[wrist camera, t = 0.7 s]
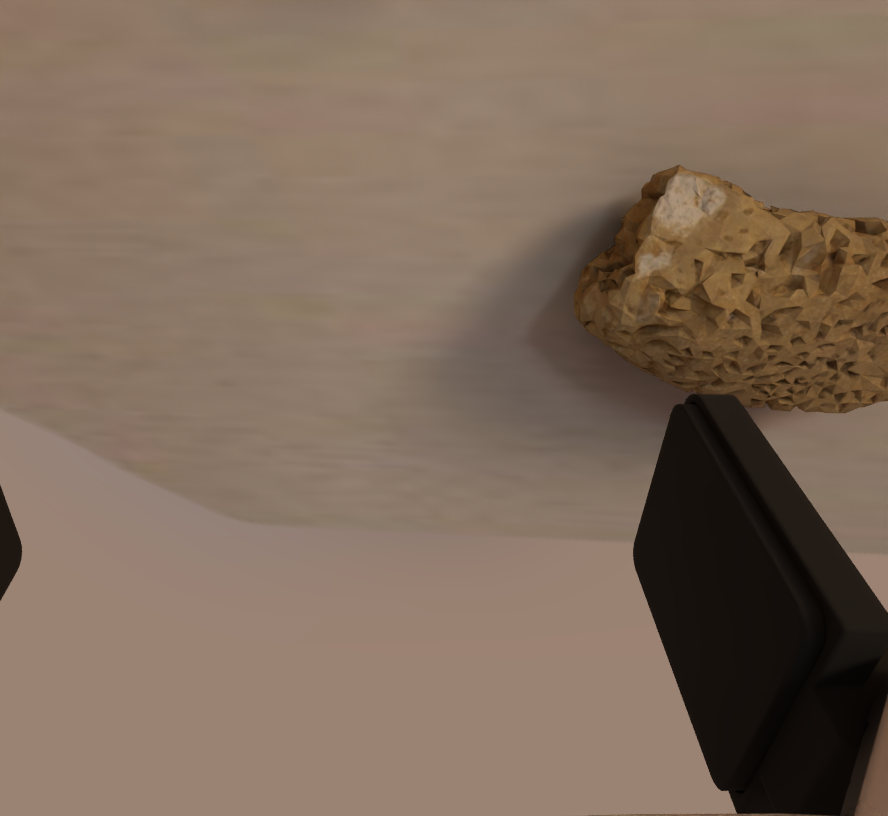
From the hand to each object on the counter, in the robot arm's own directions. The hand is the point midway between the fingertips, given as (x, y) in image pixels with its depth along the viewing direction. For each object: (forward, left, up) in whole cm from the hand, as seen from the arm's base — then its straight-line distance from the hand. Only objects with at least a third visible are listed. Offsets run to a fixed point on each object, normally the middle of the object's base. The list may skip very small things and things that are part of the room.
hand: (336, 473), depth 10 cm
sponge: (+8, +21, -28) cm, 37 cm away
